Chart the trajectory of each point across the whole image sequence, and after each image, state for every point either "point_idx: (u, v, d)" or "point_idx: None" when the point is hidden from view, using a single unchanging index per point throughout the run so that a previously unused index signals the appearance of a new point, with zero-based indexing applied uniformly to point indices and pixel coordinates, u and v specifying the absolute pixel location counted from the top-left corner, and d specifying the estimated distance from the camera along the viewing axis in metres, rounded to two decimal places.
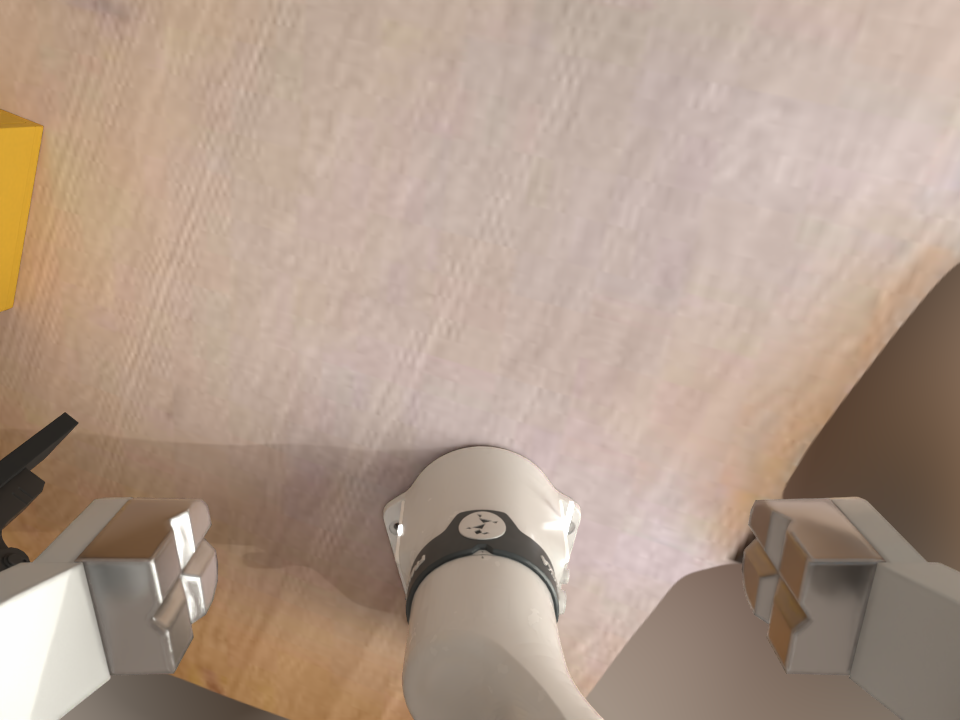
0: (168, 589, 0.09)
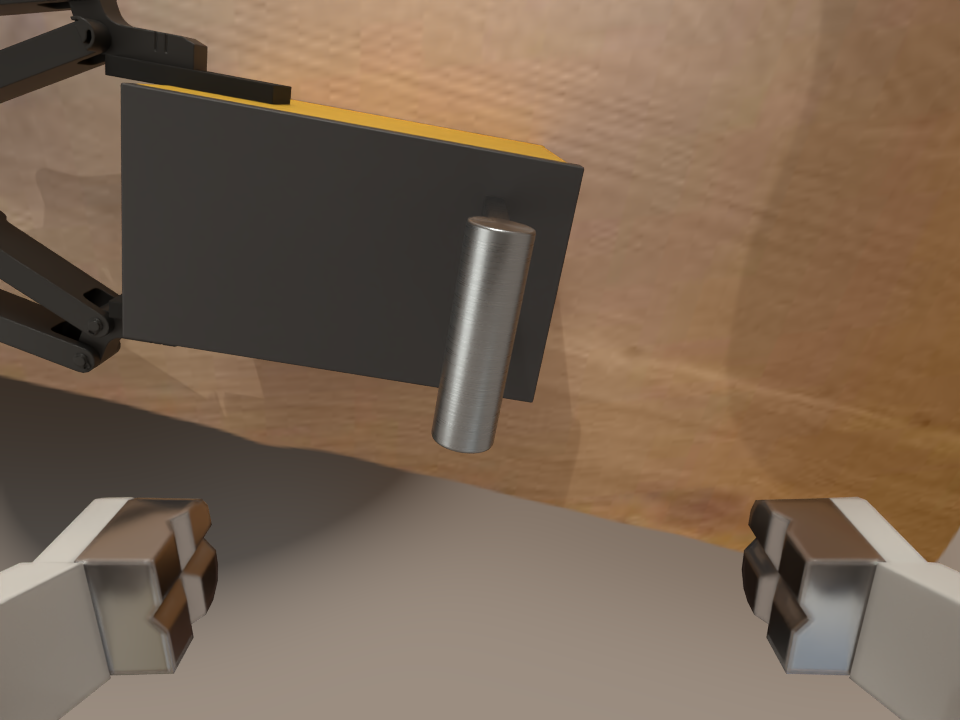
0: (168, 589, 0.09)
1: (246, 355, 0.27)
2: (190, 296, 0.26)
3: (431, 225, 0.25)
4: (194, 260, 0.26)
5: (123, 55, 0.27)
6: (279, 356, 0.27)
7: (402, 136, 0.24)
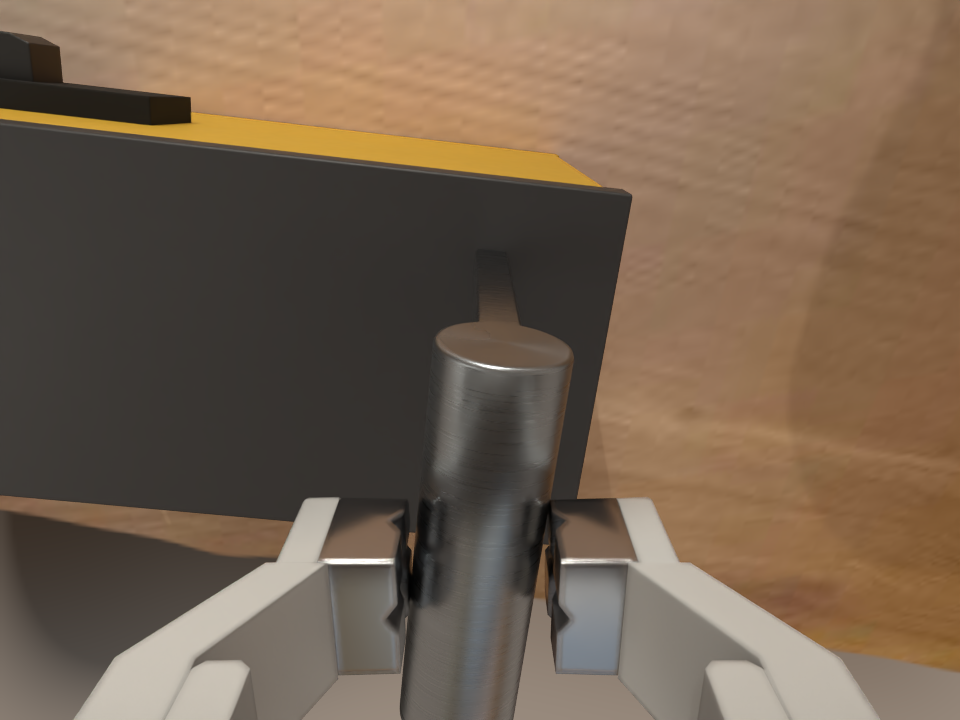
0: (399, 589, 0.09)
1: (133, 505, 0.18)
2: (36, 427, 0.17)
3: (394, 299, 0.16)
4: (34, 375, 0.17)
5: None
6: (182, 503, 0.18)
7: (336, 164, 0.15)
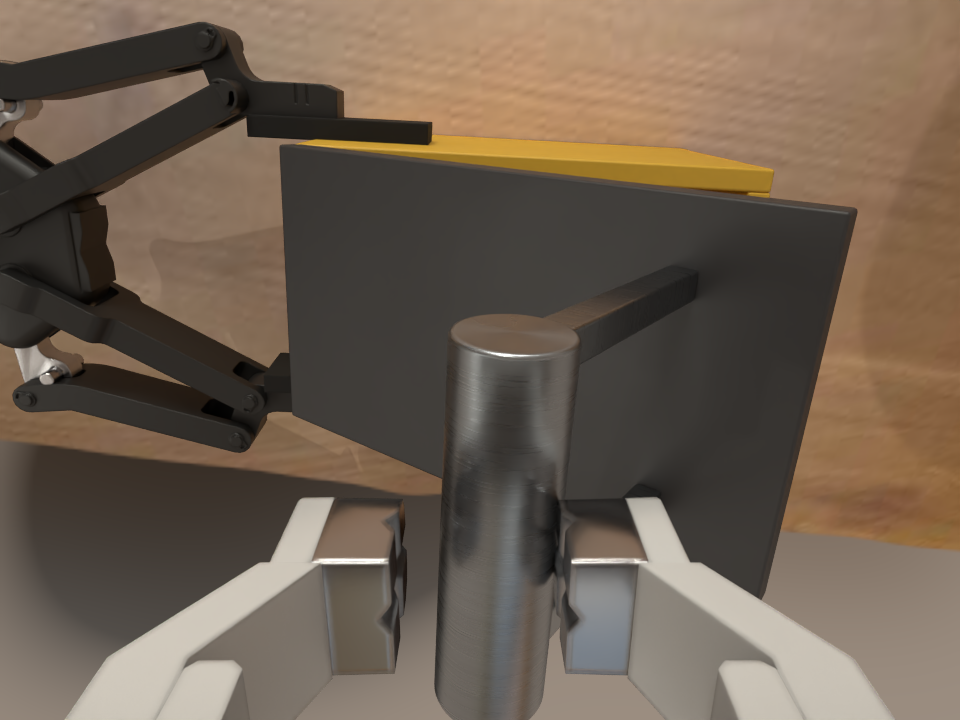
0: (393, 589, 0.09)
1: (390, 455, 0.22)
2: (340, 379, 0.23)
3: None
4: (342, 339, 0.22)
5: (262, 113, 0.25)
6: (421, 463, 0.21)
7: (549, 180, 0.16)
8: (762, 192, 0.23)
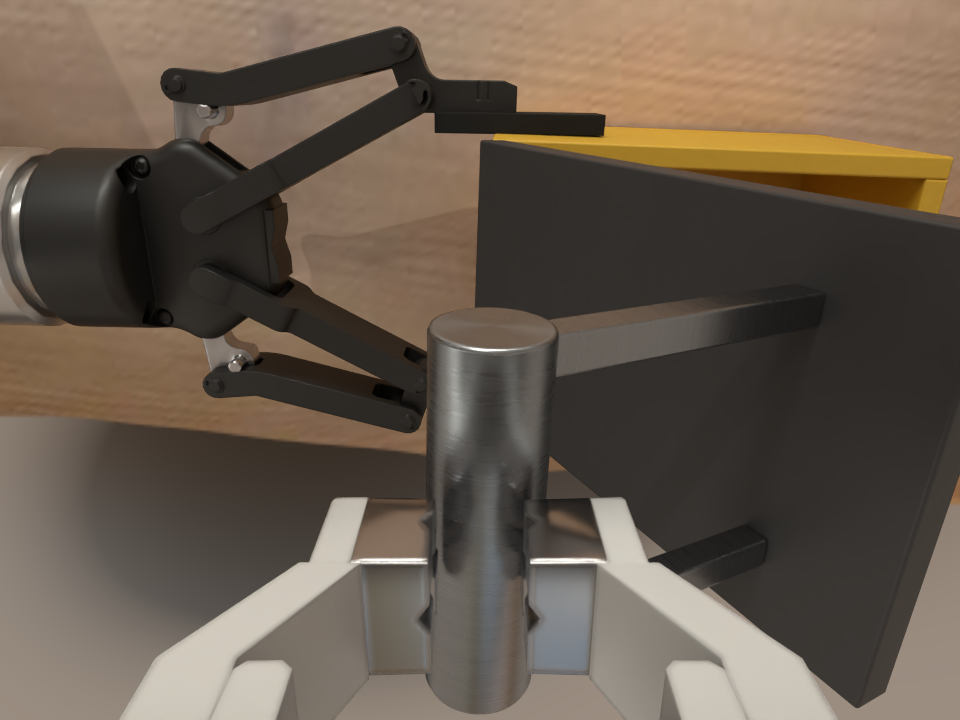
0: (430, 589, 0.09)
1: None
2: None
3: None
4: None
5: (445, 110, 0.27)
6: (561, 458, 0.22)
7: (688, 181, 0.15)
8: (939, 179, 0.24)
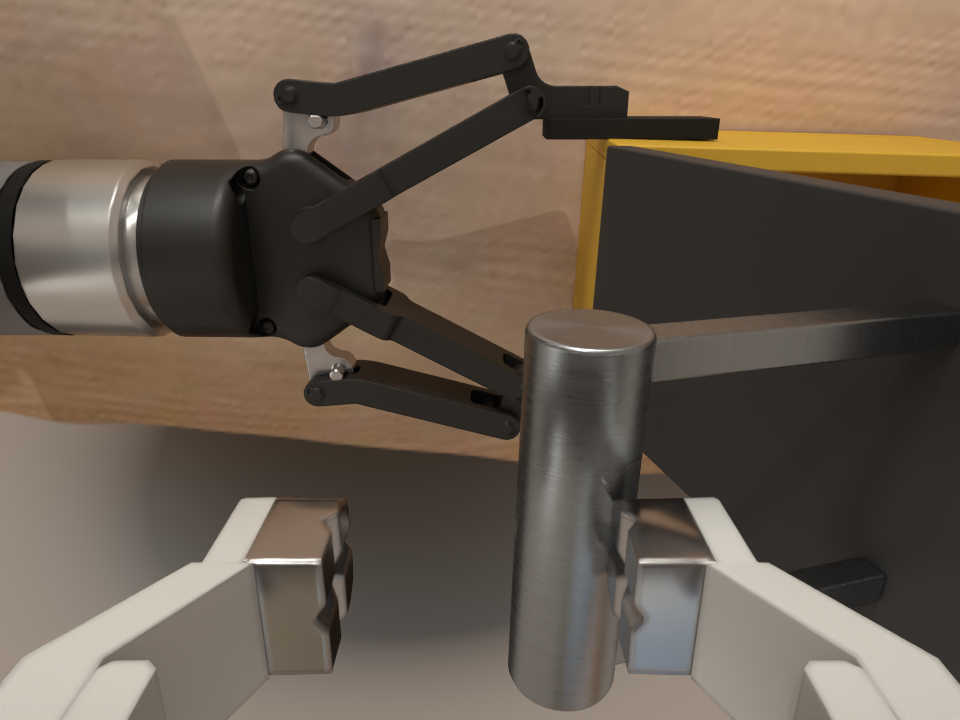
0: (328, 589, 0.09)
1: (647, 455, 0.22)
2: None
3: None
4: None
5: (555, 116, 0.27)
6: (670, 470, 0.21)
7: (819, 188, 0.15)
8: None
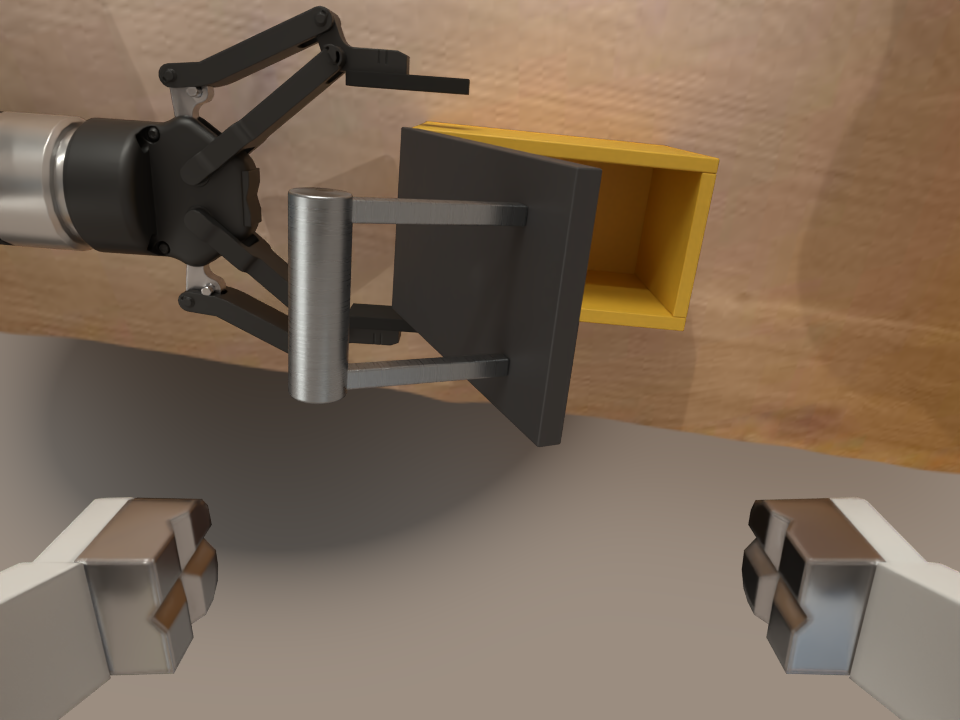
0: (168, 589, 0.09)
1: (422, 335, 0.33)
2: (409, 282, 0.34)
3: (492, 233, 0.26)
4: (411, 255, 0.34)
5: (355, 69, 0.37)
6: (432, 341, 0.32)
7: (484, 148, 0.26)
8: (711, 173, 0.35)
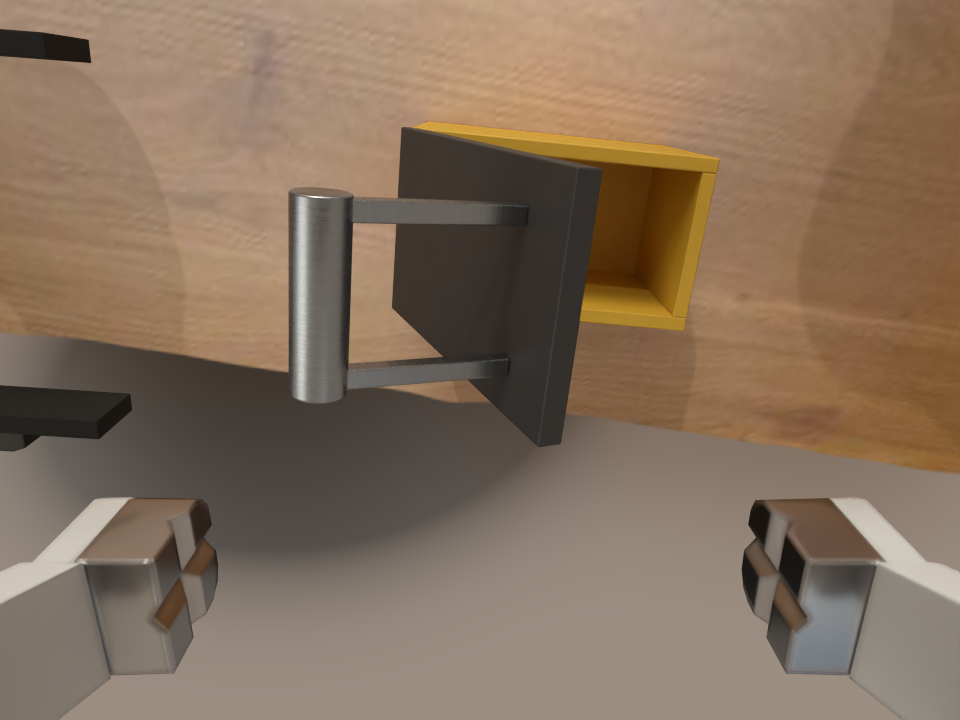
0: (168, 589, 0.09)
1: (422, 335, 0.33)
2: (409, 282, 0.34)
3: (492, 232, 0.25)
4: (412, 255, 0.34)
5: None
6: (432, 341, 0.32)
7: (485, 148, 0.26)
8: (711, 173, 0.35)
